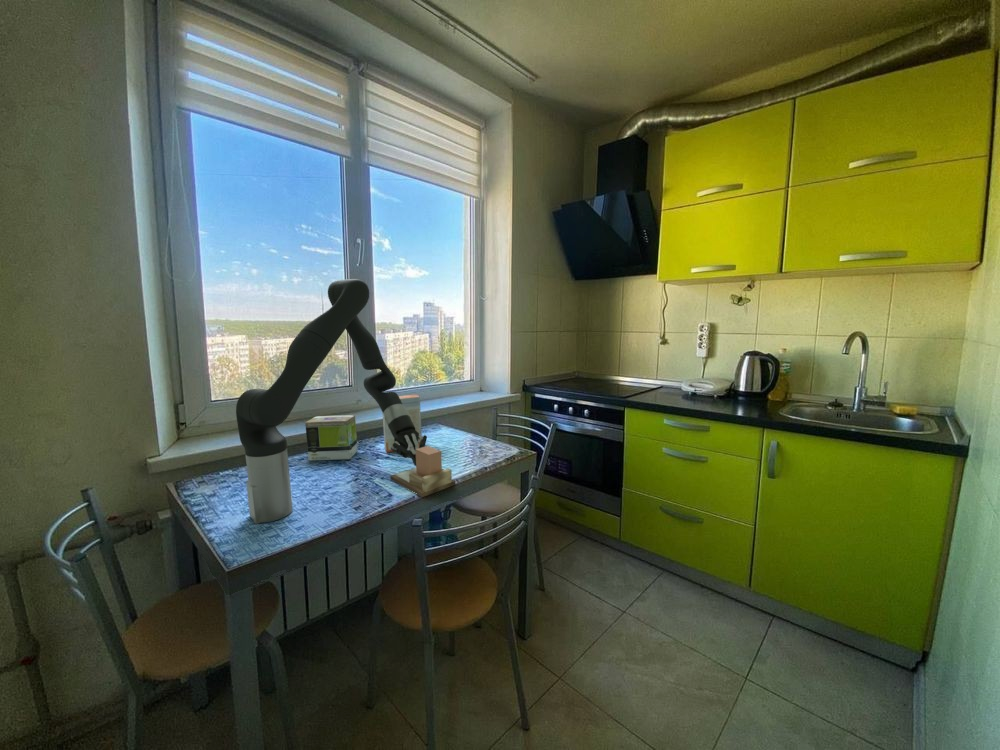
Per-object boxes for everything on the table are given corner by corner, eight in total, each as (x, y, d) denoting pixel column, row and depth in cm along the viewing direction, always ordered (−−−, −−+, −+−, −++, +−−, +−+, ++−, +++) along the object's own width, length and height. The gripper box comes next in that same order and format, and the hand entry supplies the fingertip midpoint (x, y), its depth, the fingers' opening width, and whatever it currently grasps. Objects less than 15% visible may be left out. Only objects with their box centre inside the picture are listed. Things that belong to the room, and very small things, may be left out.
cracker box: (419, 443, 158) (417, 393, 155) (422, 448, 153) (420, 396, 150) (383, 448, 153) (381, 396, 150) (386, 453, 147) (383, 399, 144)
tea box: (358, 451, 150) (355, 414, 148) (349, 460, 140) (347, 420, 138) (318, 452, 149) (315, 414, 147) (307, 461, 139) (304, 421, 137)
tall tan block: (429, 487, 114) (428, 454, 113) (416, 480, 119) (415, 449, 117) (442, 482, 117) (441, 451, 116) (428, 476, 122) (427, 445, 121)
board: (422, 497, 110) (421, 480, 109) (390, 479, 123) (389, 463, 122) (455, 484, 118) (454, 468, 118) (422, 469, 131) (421, 454, 130)
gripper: (384, 418, 120) (406, 465, 113) (420, 410, 129) (442, 454, 123) (376, 431, 125) (397, 477, 118) (412, 423, 134) (433, 466, 127)
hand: (420, 465), depth 120 cm, fingers closed
